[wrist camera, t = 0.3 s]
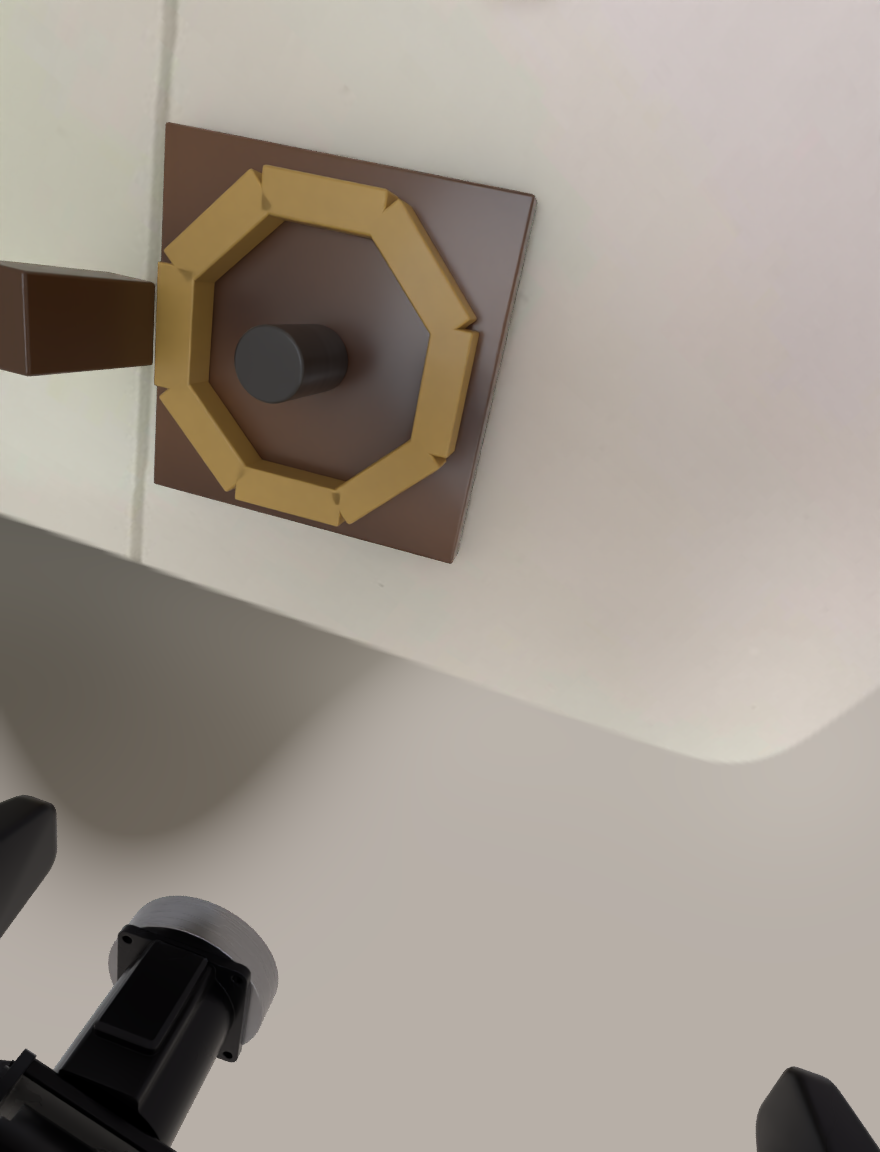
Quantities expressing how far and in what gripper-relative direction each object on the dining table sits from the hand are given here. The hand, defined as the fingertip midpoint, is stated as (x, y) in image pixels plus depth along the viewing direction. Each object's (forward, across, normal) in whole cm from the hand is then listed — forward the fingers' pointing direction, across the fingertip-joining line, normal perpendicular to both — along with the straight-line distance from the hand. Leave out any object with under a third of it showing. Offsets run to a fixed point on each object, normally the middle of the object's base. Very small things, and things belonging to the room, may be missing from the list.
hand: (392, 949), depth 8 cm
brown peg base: (+16, +8, -4) cm, 18 cm away
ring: (+15, +8, -4) cm, 17 cm away
